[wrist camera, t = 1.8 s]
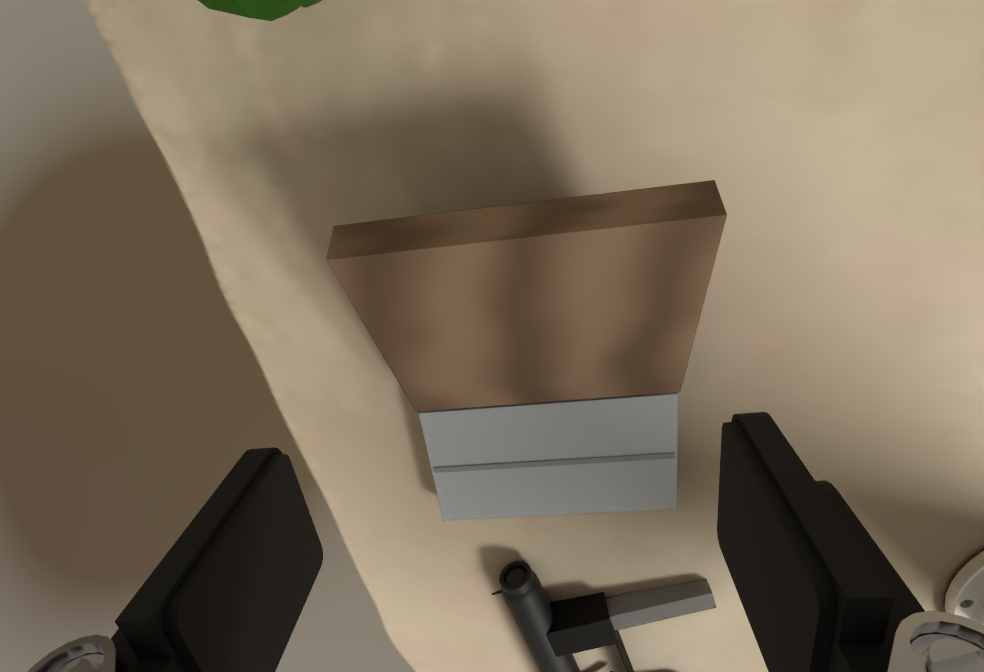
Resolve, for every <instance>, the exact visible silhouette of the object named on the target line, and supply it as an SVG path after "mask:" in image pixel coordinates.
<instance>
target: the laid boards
mask: <svg viewBox="0 0 984 672" xmlns="http://www.w3.org/2000/svg"><path fill="white" fill-rule="evenodd" d="M419 417H420V421H421V426H422V430H423V435H424V439H425V444H426V448H427V452H428V457H429V461H430V466H431V470H432V474H433V479H434V483H435V488H436V492H437V496H438V501H439V505H440V510H441V514H442V518H443V521H445V520H466V519H486V518H506V517H527V516H547V515H567V514H588V513H608V512H628V511H648V510H669V509H677V456H678V393H677V392H671V393H658V394H644V395H631V396H618V397H604V398H591V399H578V400H564V401H551V402H538V403H524V404H511V405H498V406H484V407H471V408H458V409H444V410H431V411H419Z"/></svg>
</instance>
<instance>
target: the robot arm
mask: <svg viewBox="0 0 984 672" xmlns="http://www.w3.org/2000/svg"><path fill="white" fill-rule="evenodd" d="M717 534H718V540H719V545H720V548H721V551H722V553H723V556H724V559H725V561H726V564H727V566H728V569H729V571H730V574H731V576H732V579H733V582H734V584H735V587H736V589H737V592H738V594H739V597H740V600H741V602H742V605H743V607H744V610H745V612H746V615H747V617H748V620H749V623H750V625H751V628H752V630H753V633H754V635H755V638H756V640H757V643H758V646H759V648H760V651H761V653H762V656H763V658H764V661H765V663H766V666H767V669H768V671H769V672H984V551H982V552H981V553H979V554H978V555H977V556H975V557H974V558H973V559H971V560H970V561H969V562H968V563H967V564H966V565H965V566H964V567H963V568H962V569H961V570H960V571H959V572H958V573H957V574H956V576H955V577H954V579H953V580H952V582H951V583H950V586H949V588H948V591H947V593H946V596H945V611H946V612H937V611H925V610H924V609H923V608H922V606H921V605H920V604H919V602H918V601H917V599H916V598H915V597H914V595H913V594H912V593H911V591H910V590H909V588H908V587H907V586H906V584H905V583H904V582H903V580H902V579H901V577H900V576H899V575H898V573H897V572H896V571H895V569H894V568H893V566H892V565H891V564H890V562H889V561H888V560H887V558H886V557H885V555H884V554H883V553H882V551H881V550H880V549H879V547H878V546H877V544H876V543H875V542H874V540H873V539H872V538H871V536H870V535H869V533H868V532H867V531H866V529H865V528H864V527H863V525H862V524H861V522H860V521H859V520H858V518H857V517H856V516H855V514H854V513H853V511H852V510H851V509H850V507H849V506H848V504H847V503H846V502H845V500H844V499H843V498H842V496H841V495H840V493H839V492H838V491H837V489H836V488H835V487H834V486H833V485H832V484H831V483H829V482H827V481H815V480H814V479H813V477H812V476H811V474H810V473H809V471H808V470H807V468H806V467H805V466H804V464H803V463H802V461H801V460H800V458H799V457H798V455H797V454H796V453H795V451H794V450H793V448H792V447H791V445H790V444H789V442H788V441H787V439H786V438H785V437H784V435H783V434H782V432H781V431H780V429H779V428H778V426H777V425H776V423H775V422H774V421H773V419H772V418H771V416H770V415H769V414H768V413H766V412H758V413H744V414H735V415H733V417H732V422H727V423H723V426H722V438H721V459H720V480H719V501H718V521H717ZM322 560H323V549H322V546H321V543H320V540H319V537H318V535H317V532H316V529H315V526H314V524H313V521H312V518H311V515H310V513H309V510H308V507H307V505H306V502H305V499H304V496H303V494H302V491H301V488H300V485H299V482H298V480H297V477H296V474H295V471H294V469H293V466H292V463H291V460H290V458H289V456H288V455H286V454H282V452H281V451H280V450H279V449H278V448H261V449H250V450H247V451H246V452H245V453H244V454H243V455H242V457H241V458H240V460H239V461H238V462H237V463H236V465H235V466H234V467H233V468H232V470H231V471H230V472H229V474H228V475H227V476H226V478H225V479H224V480H223V481H222V483H221V484H220V485H219V487H218V488H217V489H216V491H215V492H214V493H213V495H212V496H211V497H210V498H209V500H208V501H207V502H206V504H205V505H204V506H203V507H202V509H201V510H200V511H199V513H198V514H197V515H196V517H195V518H194V519H193V520H192V522H191V523H190V524H189V526H188V527H187V528H186V529H185V531H184V532H183V534H182V535H181V536H180V537H179V539H178V540H177V541H176V542H175V544H174V545H173V546H172V548H171V549H170V550H169V552H168V553H167V554H166V556H165V557H164V558H163V559H162V561H161V562H160V563H159V565H158V566H157V567H156V568H155V570H154V571H153V572H152V574H151V575H150V576H149V577H148V579H147V580H146V581H145V583H144V584H143V585H142V587H141V588H140V589H139V591H138V592H137V593H136V594H135V596H134V597H133V598H132V600H131V601H130V602H129V603H128V605H127V606H126V608H125V609H124V610H123V611H122V613H121V614H120V615H119V617H118V618H117V619H116V620H115V623H116V624H117V626H118V627H119V629H118V630H117V631H116V633H115V634H114V636H113V637H112V638H111V639H109V638H108V637H107V636H101V635H91V636H85V637H81V638H78V639H76V640H73V641H71V642H68V643H66V644H64V645H63V646H61V647H59V648H57V649H55V650H54V651H52V652H50V653H49V654H48V655H46V656H45V657H44V658H42V659H41V660H40V661H39V662H37V663H36V664H35V665H34V666H33V667H32V668H31V669H30V670H29V671H28V672H275V671H276V669H277V666H278V664H279V662H280V659H281V657H282V655H283V652H284V650H285V648H286V646H287V643H288V641H289V638H290V636H291V634H292V632H293V630H294V627H295V625H296V623H297V620H298V618H299V616H300V614H301V611H302V609H303V606H304V604H305V602H306V600H307V597H308V595H309V593H310V591H311V588H312V586H313V584H314V581H315V579H316V577H317V575H318V572H319V570H320V568H321V565H322Z"/></svg>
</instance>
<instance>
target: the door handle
mask: <svg viewBox="0 0 984 672" xmlns="http://www.w3.org/2000/svg"><path fill="white" fill-rule="evenodd" d="M500 584H501V586H502V589H501V590H500V592H499V591H496V593H492V595H495V594H499V593H502V594H503V597H504V599H505V601H506V603H507V605H508V607H509V609H510V611H511V613H512V615H513V617H514V619H515V621H516V623H517V625H518V627H519V629H520V631H521V633H522V635H523V637H524V639H525V641H526V643H527V645H528V647H529V649H530V651H531V653H532V655H533V657H534V659H535V662H536V664H537V666H538V668H539V670H540V672H580V670H579V668H578V665H577V663H576V661H575V659H574V656H573V654H572V653H577V652H581V651H585V650H590V649H594V648H599V647H603V646H608V645H612V644H616V645H617V648H618V650H619V653H620V655H621V658H622V660H623V663H624V665H625V668H626V670H627V672H634V670H633V667H632V665H631V662H630V660H629V657H628V655H627V652H626V650H625V647H624V644H623V642H622V639H621V637H620V634H619V632H618V630H621V629H625V628H629V627H634V626H638V625H642V624H647V623H651V622H655V621H660V620H664V619H668V618H673V617H677V616H682V615H686V614H690V613H695V612H699V611H703V610H708V609H712V608H716V605H715V601H714V598H713V594H712V591H711V589H710V587H709V584H708V582H707V579H703V580H698V581H692V582H687V583H681V584H676V585H670V586H665V587H660V588H654V589H649V590H643V591H638V592H632V593H627V594H623V595H619V596H615V597H611V598H607V599H606V598H605V595H604V592H602V593H597V594H592V595H586V596H581V597H575V598H570V599H565V600H559V601H554V602H549V601H548V599H547V597H546V594H545V592H544V590H543V588H542V586H541V583H540V581H539V579H538V577H537V575H536V574H535V573H534V572H533V571H532V570H531V569H530V567H529V565H528V564H526V563H524V562H514V563H511V564H509V565H508V566H506V567H505V568H504V569H503V571H502V572H501V574H500ZM610 672H613V671H610Z"/></svg>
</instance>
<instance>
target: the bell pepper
mask: <svg viewBox="0 0 984 672" xmlns="http://www.w3.org/2000/svg"><path fill="white" fill-rule="evenodd" d="M199 1H200V2H201V3H202V4H204V5H205V6H206V7H207V8H209V9H213V10H218V11H222V12H227V13H231V14H236V15H240V16H245V17H249V18H255V19H262V20H269V21H272V20H275V19H277V18H280V17H282V16H285V15H287V14H289V13H291V12H293V11H294V10H296V9H298V8H299V7H300V6H302V7H308V6H311V5H313V4H316V3H318V2H320V1H321V0H199Z"/></svg>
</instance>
